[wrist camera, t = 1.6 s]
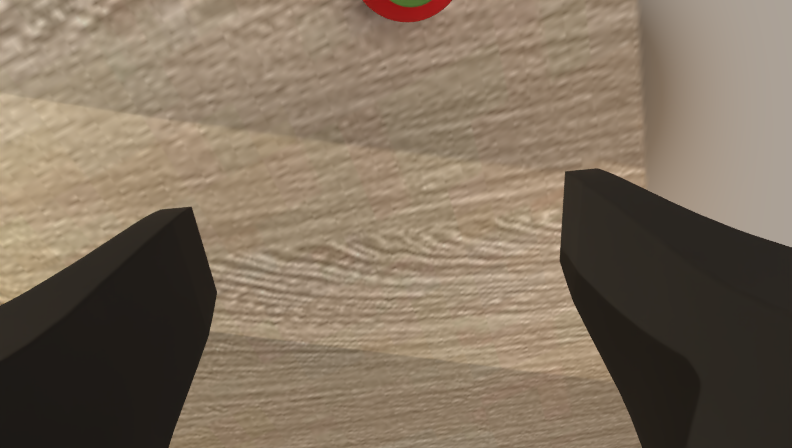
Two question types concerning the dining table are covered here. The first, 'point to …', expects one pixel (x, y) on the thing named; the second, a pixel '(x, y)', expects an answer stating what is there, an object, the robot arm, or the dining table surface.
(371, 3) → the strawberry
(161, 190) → the dining table surface
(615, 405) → the dining table surface
